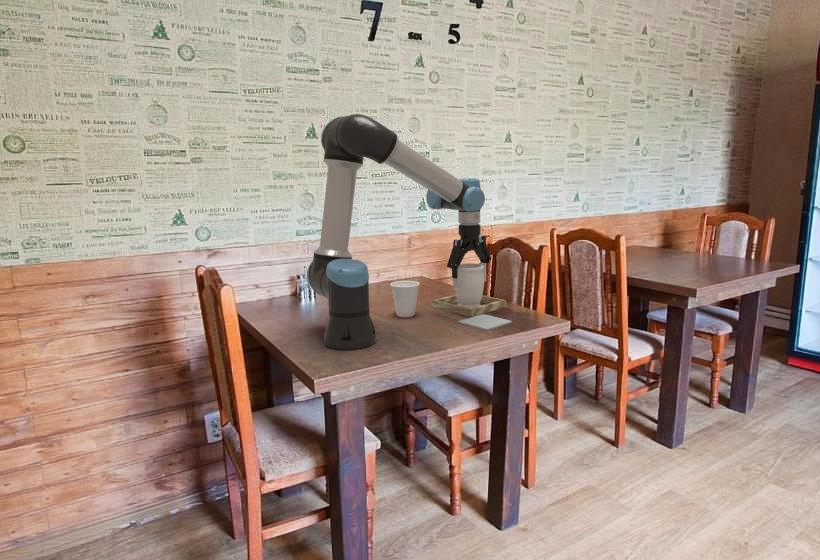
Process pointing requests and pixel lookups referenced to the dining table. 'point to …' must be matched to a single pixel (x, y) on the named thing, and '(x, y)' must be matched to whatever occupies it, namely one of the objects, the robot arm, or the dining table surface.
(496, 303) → the square wooden frame
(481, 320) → the mat
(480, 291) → the jar
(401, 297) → the cup
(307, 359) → the dining table surface
